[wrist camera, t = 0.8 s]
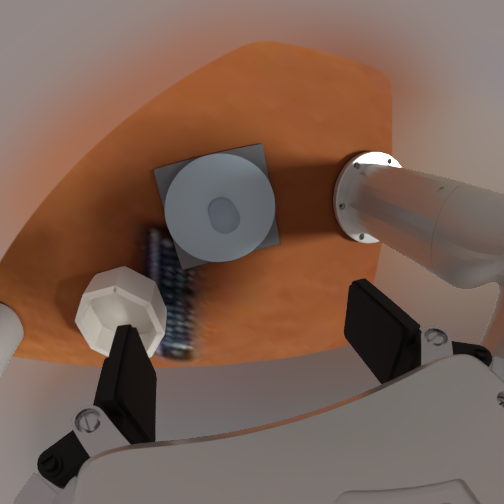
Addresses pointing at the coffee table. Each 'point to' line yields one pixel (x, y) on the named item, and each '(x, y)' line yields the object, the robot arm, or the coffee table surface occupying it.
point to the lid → (219, 207)
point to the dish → (121, 309)
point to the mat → (170, 171)
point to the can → (9, 335)
